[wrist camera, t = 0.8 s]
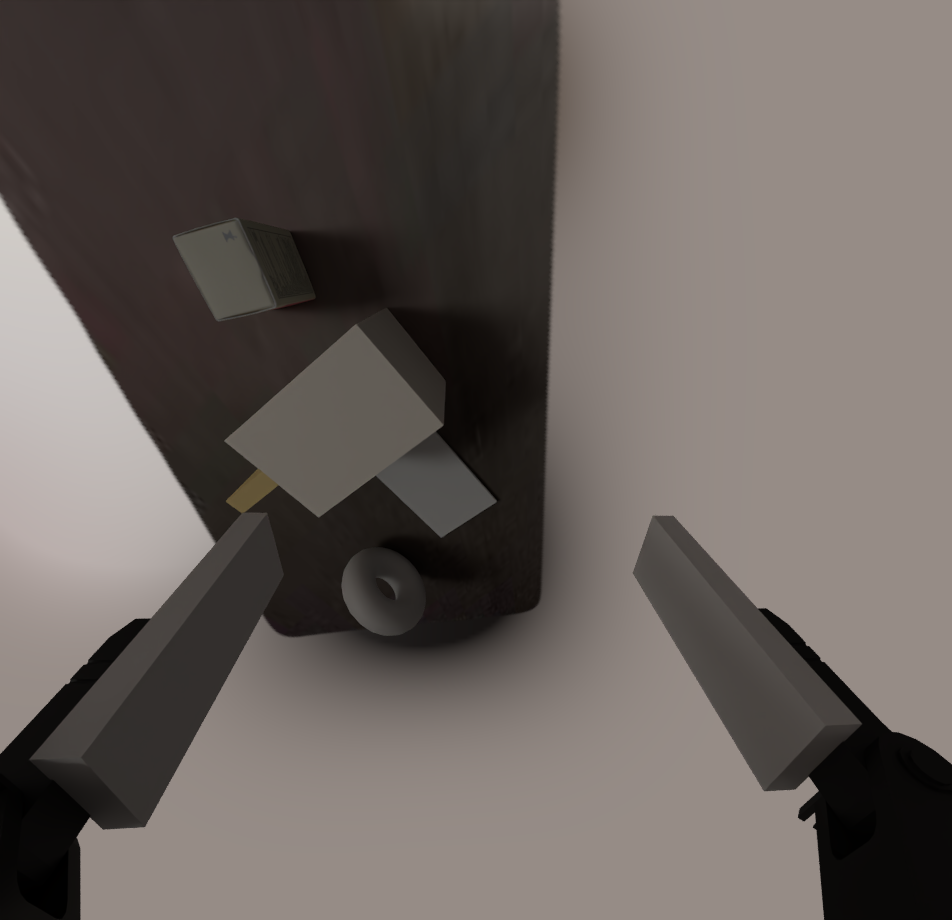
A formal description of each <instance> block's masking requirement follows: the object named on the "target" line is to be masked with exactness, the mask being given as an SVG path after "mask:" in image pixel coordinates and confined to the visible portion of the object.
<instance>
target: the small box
mask: <svg viewBox="0 0 952 920" xmlns="http://www.w3.org/2000/svg"><path fill="white" fill-rule="evenodd" d="M173 240H174V242H175V244H176V246H177V248H178V250H179V252H180V254H181V256H182V258H183V260H184V262H185V264H186V266H187V268H188V270H189V272H190V274H191V275H192V277H193V279H194V281H195V283H196V285H197V287H198V288H199V290H200V292H201V294H202V296H203V297H204V299H205V301H206V303H207V305H208V306H209V308H210V310H211V312H212V313H213V315H214V317H215V319H216V320H217V321H224V320H229V319H234V318H238V317H243V316H248V315H252V314H256V313H260V312H265V311H269V310H274V309H279V308H283V307H287V306H291V305H295V304H299V303H303V302H306V301H310V300H314V299H315V297H316V296H315V293H314V290H313V288H312V285H311V282H310V280H309V277H308V275H307V272H306V270H305V267H304V265H303V262H302V260H301V257H300V255H299V252H298V250H297V248H296V245H295V243H294V241H293V238H292V236H291V233H290V231H288V230H285V229H281V228H277V227H273V226H269V225H265V224H261V223H257V222H253V221H248V220H244V219H240V218H233V219H230V220H225V221H222V222H217V223H214V224H210V225H206V226H203V227H200V228H196V229H193V230H190V231H187V232H184V233H181V234H178V235H174V236H173Z"/></svg>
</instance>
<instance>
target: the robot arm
mask: <svg viewBox="0 0 952 920" xmlns="http://www.w3.org/2000/svg"><path fill="white" fill-rule="evenodd" d="M633 574H634V576H635V578H636V579H637V581H638V582H639V584H640V586H641V587H642V589H643V591H644V592H645V594H646V596H647V597H648V599H649V601H650V602H651V604H652V606H653V607H654V609H655V611H656V612H657V614H658V616H659V617H660V619H661V620H662V622H663V624H664V626H665V627H666V629H667V630H668V632H669V634H670V636H671V637H672V639H673V641H674V642H675V644H676V646H677V647H678V649H679V651H680V652H681V654H682V656H683V657H684V659H685V661H686V662H687V664H688V665H689V667H690V669H691V671H692V672H693V674H694V676H695V677H696V679H697V680H698V682H699V684H700V686H701V687H702V689H703V690H704V692H705V694H706V696H707V697H708V699H709V700H710V702H711V704H712V706H713V707H714V708H715V710H716V712H717V714H718V715H719V717H720V719H721V720H722V722H723V724H724V725H725V727H726V729H727V730H728V732H729V734H730V735H731V737H732V739H733V740H734V742H735V744H736V745H737V747H738V749H739V750H740V752H741V754H742V755H743V757H744V759H745V760H746V762H747V764H748V765H749V767H750V769H751V770H752V772H753V774H754V775H755V777H756V778H757V780H758V782H759V784H760V785H761V787H762V789H763V790H764V791H776V790H792V789H793V790H794V789H796V788H797V787H798V786H799V785H800V784H801V783H802V782H803V781H804V780H805V779H806V778H807V777H810V779H811V780H812V781H813V783H814V784H815V786H816V787H817V789H818V790H819V791H818V792H817V793H816V794H815V795H814V796H813V797H812V798H811V799H810V800H809V801H807V802H806V803H805V804H804V805H803V806H802V807H801V808H800V810H799V815H798V818H799V819H801V820H802V821H805V820H806V819H808V818H809V817H810V816H811V815H812V814H813V813H815V816H816V823H815V825H814V826H813V828H815V829H816V830H817V840H818V851H819V862H820V863H819V864H820V876H821V887H822V900H823V910H824V920H952V764H951V763H949V762H948V761H947V760H946V759H944V758H943V757H942V756H941V755H939V754H938V753H937V752H936V751H934V750H933V749H931V748H930V747H928V746H926V745H925V744H923V743H921V742H920V741H918V740H916V739H914V738H911V737H909V736H906V735H904V734H901V733H897V732H892V731H891V730H889V729H888V728H887V727H886V726H885V725H884V724H883V723H882V722H881V721H880V720H879V719H878V718H877V717H876V716H875V715H874V714H873V713H872V712H871V710H870V709H869V708H868V707H867V706H866V705H865V704H864V703H863V702H862V701H861V700H860V699H859V698H858V697H857V696H856V695H855V694H854V693H853V692H852V691H851V690H850V688H849V687H848V686H847V685H846V684H845V683H844V682H843V681H842V680H841V679H840V678H839V677H838V676H837V675H836V674H835V673H834V672H833V671H832V670H831V669H830V668H829V666H827V664H826V663H825V662H822V661H821V660H820V657H819V656H818V655H817V654H816V653H815V652H814V651H813V650H812V649H811V648H810V647H809V646H806V644H805V642H804V640H803V639H802V638H801V637H800V636H799V635H798V634H797V633H796V632H795V631H794V630H793V629H792V628H791V627H790V626H789V625H788V624H787V623H786V622H784V621H783V620H781V619H780V618H779V617H777V616H776V615H775V614H773V613H772V612H770V611H769V610H768V609H766V608H765V609H757V607H756V606H755V605H754V604H753V603H752V602H751V601H750V600H749V599H748V598H747V596H745V594H744V593H743V592H742V591H741V590H740V589H739V588H738V587H737V585H736V584H735V583H734V582H733V581H732V580H731V579H730V578H729V577H728V576H727V574H726V573H725V572H724V571H723V570H722V569H721V568H720V567H719V566H718V565H717V563H715V561H714V560H713V559H712V558H711V557H710V556H709V555H708V553H707V552H706V551H705V550H704V549H703V548H702V547H701V546H700V545H699V544H698V542H697V541H696V540H695V539H694V538H693V537H692V536H691V535H690V534H689V533H688V531H687V530H686V529H685V528H684V527H683V526H682V525H681V524H680V523H679V522H678V520H677V519H676V518H675V517H674V516H653V517H652V520H651V522H650V525H649V528H648V531H647V534H646V537H645V540H644V543H643V545H642V548H641V551H640V554H639V557H638V560H637V563H636V565H635V568H634V571H633ZM283 576H284V574H283V571H282V567H281V563H280V559H279V556H278V552H277V548H276V544H275V540H274V537H273V533H272V529H271V525H270V522H269V518H268V514H267V513H242V514H241V515H240V516H239V517H238V519H237V520H236V521H235V522H234V523H233V524H232V526H231V527H230V528H229V529H228V530H227V531H226V533H225V534H224V535H223V536H222V537H221V538H220V539H219V541H218V542H217V543H216V544H215V545H214V546H213V548H212V549H211V550H210V551H209V552H208V553H207V555H206V556H205V557H204V558H203V559H202V560H201V561H200V563H199V564H198V565H197V566H196V567H195V568H194V570H193V571H192V572H191V573H190V574H189V575H188V576H187V578H186V579H185V580H184V581H183V582H182V583H181V585H180V586H179V587H178V588H177V589H176V590H175V592H174V593H173V594H172V595H171V596H170V597H169V599H168V600H167V601H166V602H165V603H164V604H163V605H162V607H161V608H160V609H159V610H158V611H157V612H156V613H155V615H154V616H153V617H152V618H151V619H135V620H133V621H132V622H130V623H129V624H128V625H126V626H125V627H124V628H122V629H121V630H119V631H118V632H116V633H115V634H114V635H112V636H111V637H109V638H108V639H107V640H106V642H105V643H104V644H103V645H102V646H101V647H100V648H99V649H98V650H97V651H96V653H94V654H93V655H92V657H91V658H90V659H89V660H88V663H87V664H86V665H83V666H82V667H81V668H80V669H79V671H78V672H77V673H76V674H75V675H74V676H73V677H72V678H71V679H70V680H71V681H70V683H69V684H65V686H64V687H63V688H62V689H61V690H60V691H59V692H58V693H57V694H56V695H55V696H54V697H53V698H52V699H51V700H50V702H49V703H48V704H47V705H46V706H45V707H44V708H43V709H42V710H41V711H40V712H39V713H38V714H37V715H36V717H35V718H34V719H33V720H32V721H31V722H30V723H29V724H28V725H27V726H26V727H25V728H24V729H23V730H22V731H21V733H20V734H19V735H18V736H17V737H16V738H15V739H14V740H13V741H12V742H11V743H10V744H9V745H8V746H7V748H6V749H5V750H4V751H3V752H2V753H1V754H0V920H80V846H79V843H78V840H77V838H76V837H77V836H78V834H79V832H80V831H81V830H82V828H83V827H84V825H85V823H86V822H87V820H88V819H89V817H90V818H91V819H92V820H94V821H95V822H96V823H97V824H98V825H99V826H100V827H101V828H102V829H120V828H137V827H145V826H146V824H147V822H148V820H149V819H150V817H151V815H152V813H153V811H154V809H155V808H156V806H157V804H158V802H159V800H160V798H161V797H162V795H163V793H164V791H165V790H166V788H167V786H168V784H169V782H170V780H171V779H172V777H173V775H174V773H175V771H176V770H177V768H178V766H179V764H180V762H181V760H182V759H183V757H184V755H185V753H186V751H187V750H188V748H189V746H190V744H191V742H192V741H193V739H194V737H195V735H196V733H197V731H198V730H199V728H200V726H201V724H202V722H203V721H204V719H205V717H206V715H207V713H208V711H209V710H210V708H211V706H212V704H213V702H214V701H215V699H216V697H217V695H218V693H219V692H220V690H221V688H222V686H223V684H224V682H225V681H226V679H227V677H228V675H229V673H230V672H231V670H232V668H233V666H234V664H235V662H236V661H237V659H238V657H239V655H240V653H241V652H242V650H243V648H244V646H245V644H246V643H247V641H248V639H249V637H250V635H251V634H252V632H253V630H254V628H255V626H256V625H257V623H258V621H259V619H260V617H261V615H262V614H263V612H264V610H265V608H266V606H267V605H268V603H269V601H270V599H271V597H272V595H273V594H274V592H275V590H276V588H277V586H278V585H279V583H280V581H281V579H282V577H283Z"/></svg>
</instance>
